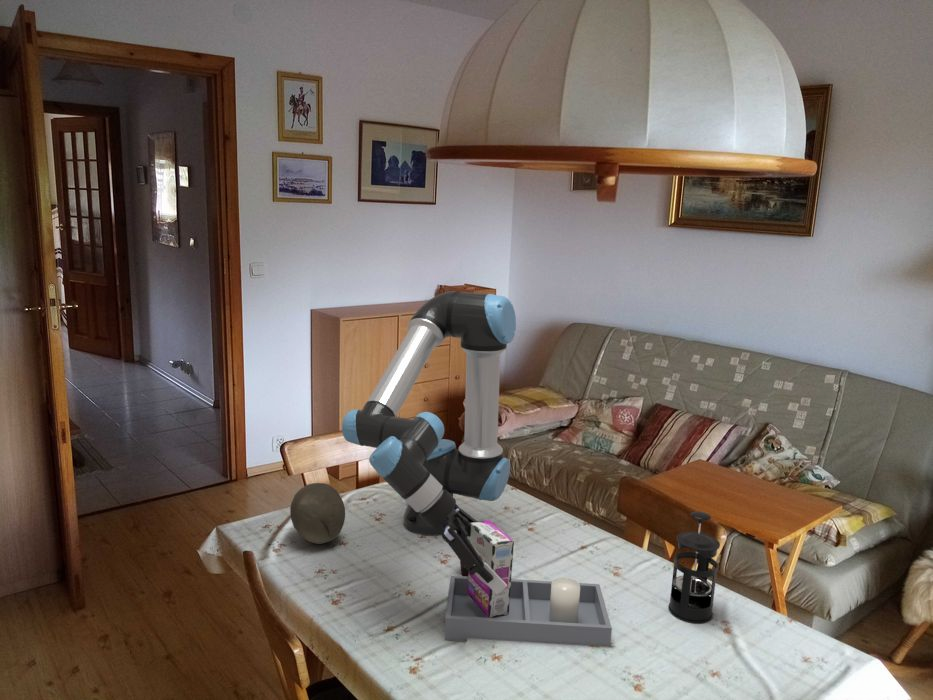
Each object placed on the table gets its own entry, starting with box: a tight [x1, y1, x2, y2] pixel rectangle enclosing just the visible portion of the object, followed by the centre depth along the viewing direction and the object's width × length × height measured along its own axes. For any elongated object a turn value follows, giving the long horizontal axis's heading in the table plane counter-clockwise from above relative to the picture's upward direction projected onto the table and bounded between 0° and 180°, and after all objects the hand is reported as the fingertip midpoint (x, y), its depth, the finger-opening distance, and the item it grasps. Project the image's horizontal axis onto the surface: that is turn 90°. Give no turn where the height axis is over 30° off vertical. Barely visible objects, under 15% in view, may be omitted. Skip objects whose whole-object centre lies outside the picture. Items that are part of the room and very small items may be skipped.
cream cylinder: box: [549, 577, 580, 623], centre depth 149 cm, size 6×6×8 cm
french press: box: [667, 511, 721, 625], centre depth 155 cm, size 12×9×23 cm
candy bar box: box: [467, 519, 515, 618], centre depth 148 cm, size 11×5×16 cm, turn 25°
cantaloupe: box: [289, 482, 346, 545], centre depth 181 cm, size 14×14×15 cm
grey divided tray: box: [444, 575, 613, 648], centre depth 150 cm, size 17×33×5 cm, turn 88°
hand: (501, 574), depth 148 cm, fingers closed on candy bar box, 12 cm apart
